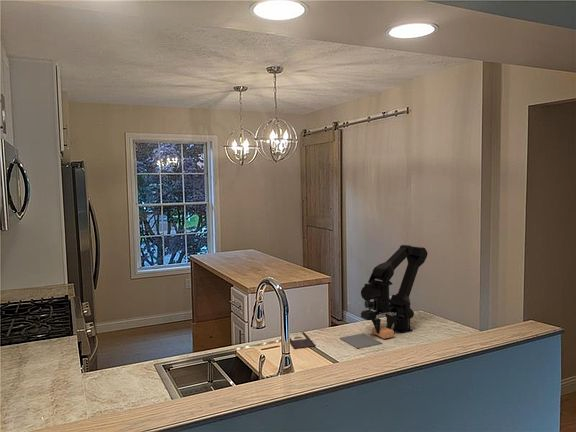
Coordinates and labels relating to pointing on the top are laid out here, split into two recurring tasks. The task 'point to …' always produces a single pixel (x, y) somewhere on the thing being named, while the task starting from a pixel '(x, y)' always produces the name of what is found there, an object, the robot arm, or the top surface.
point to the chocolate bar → (300, 341)
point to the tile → (384, 332)
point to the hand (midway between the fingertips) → (383, 332)
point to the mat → (360, 340)
